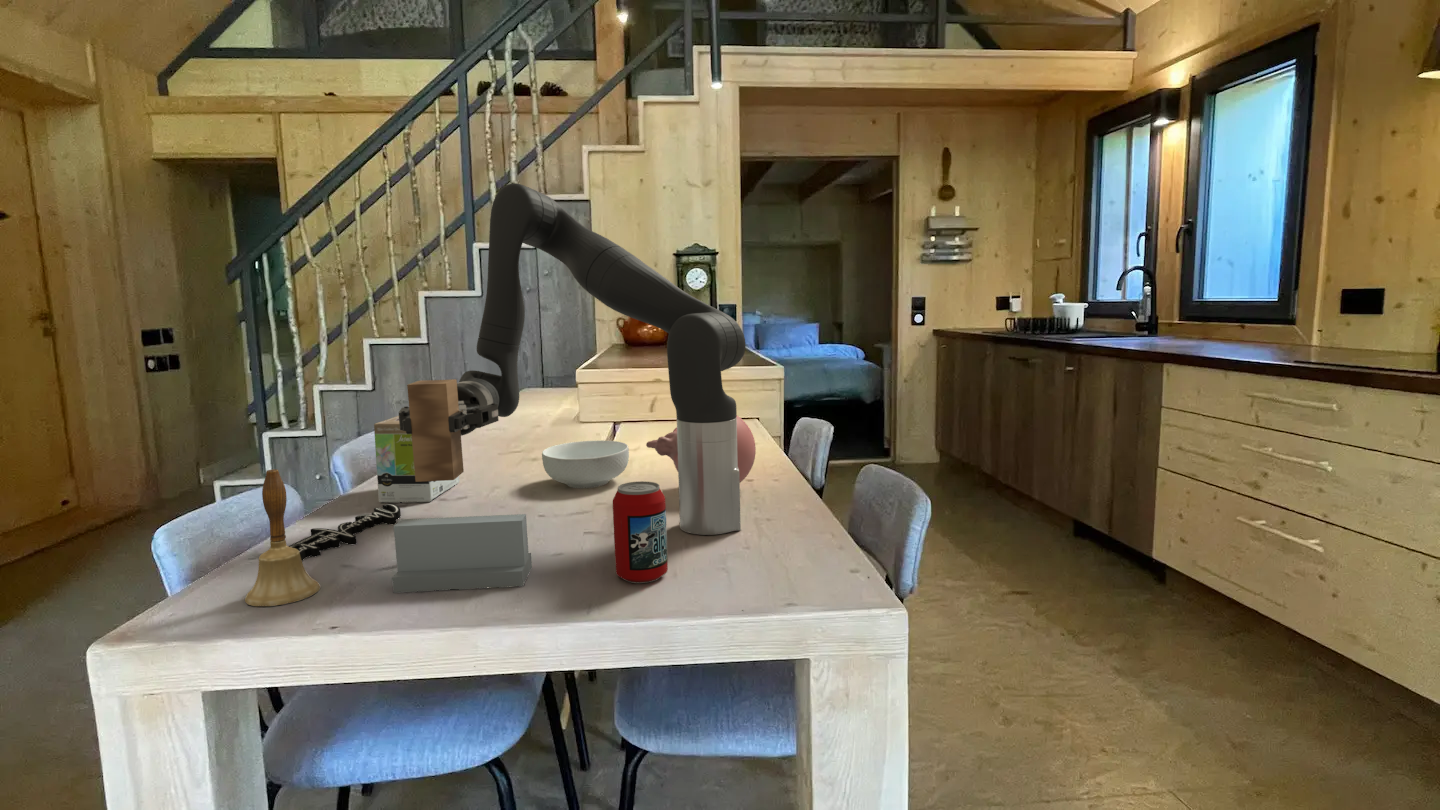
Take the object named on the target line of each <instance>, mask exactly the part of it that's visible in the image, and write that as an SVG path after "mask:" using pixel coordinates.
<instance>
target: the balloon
mask: <svg viewBox="0 0 1440 810" xmlns="http://www.w3.org/2000/svg"><path fill="white" fill-rule="evenodd" d="M753 434H754V433H753V432H752V430H751V429H750V427H749V425H748V424H747V423H746V421H744V420H743V419H742V417H740V416H739V415H737V459H738V469H739V477H740V483H741V482H743V481H744V480H745V479H746V478H747V477H748V475H749V473H750V472H751V470H752V469H753V465H754V463H755V459H756V453H757V452H756V451H757V448H756V442H755V441H756V440H755V437H754V435H753ZM645 446H646V448H649V449H650V448H651V449H654V450H655V452H656V453H657V455H659V456H661V457H662V456H667V457H669V458H670V459H671V460H672V462H673V465H674V467H675V470H676V471H677V472H678V445H677V426H676V427H675V428H674V429H673V430H672V431H671V432H668V433H666V434H665V435H664V436H659V437H658V438H657V439H653V440H649V441H647V442H646V443H645Z"/></svg>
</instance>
